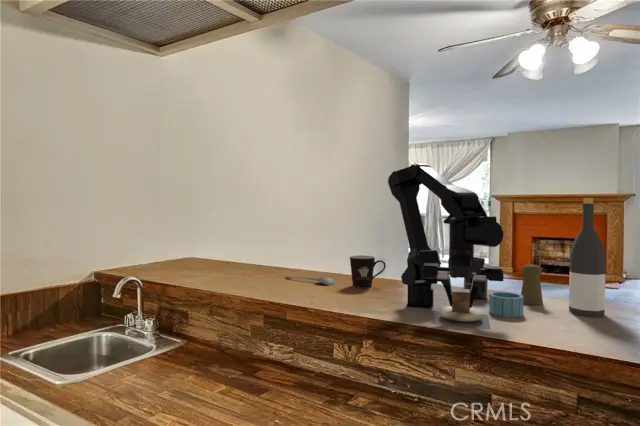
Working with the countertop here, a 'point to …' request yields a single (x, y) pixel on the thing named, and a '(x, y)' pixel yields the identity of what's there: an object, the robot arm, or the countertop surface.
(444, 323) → the rubber mat
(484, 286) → the supplement bottle
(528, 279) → the cork
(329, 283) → the soupspoon
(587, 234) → the wine bottle
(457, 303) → the wooden lid
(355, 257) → the coffee mug
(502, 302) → the ceramic bowl
